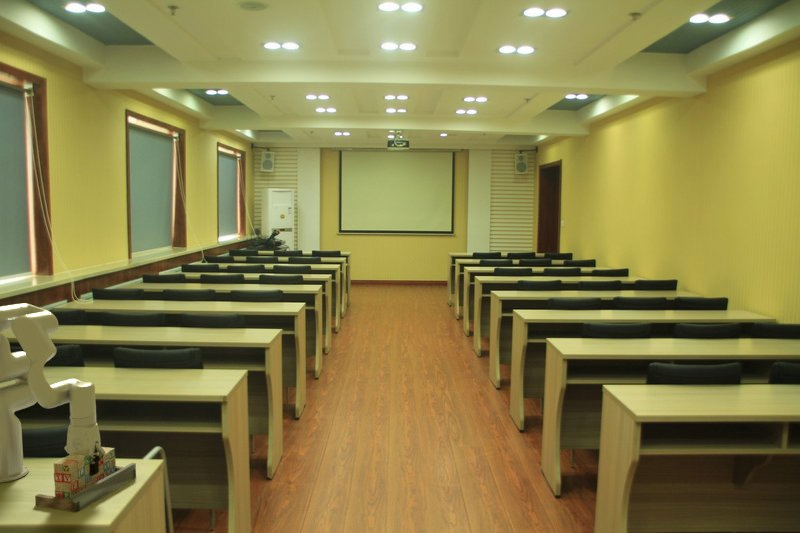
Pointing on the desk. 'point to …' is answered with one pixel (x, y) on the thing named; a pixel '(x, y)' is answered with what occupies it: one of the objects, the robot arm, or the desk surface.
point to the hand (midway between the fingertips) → (85, 472)
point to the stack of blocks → (80, 472)
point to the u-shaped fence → (90, 491)
